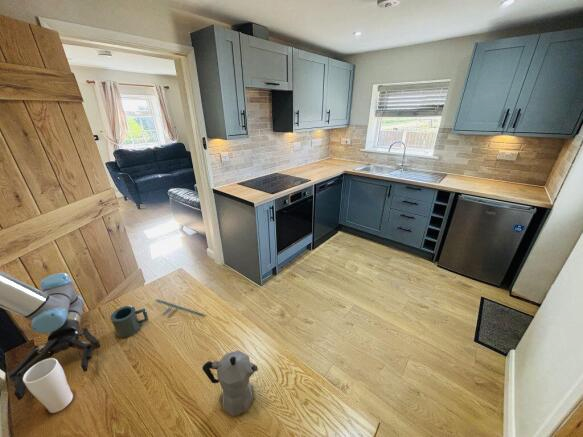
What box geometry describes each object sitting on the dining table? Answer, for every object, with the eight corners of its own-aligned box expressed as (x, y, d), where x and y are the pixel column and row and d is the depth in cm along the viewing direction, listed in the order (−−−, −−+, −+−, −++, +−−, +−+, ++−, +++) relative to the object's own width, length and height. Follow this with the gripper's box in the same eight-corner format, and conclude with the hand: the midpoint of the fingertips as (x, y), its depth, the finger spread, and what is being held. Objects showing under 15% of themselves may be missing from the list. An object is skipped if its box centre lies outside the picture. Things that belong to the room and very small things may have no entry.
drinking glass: (83, 392, 71) (64, 359, 65) (61, 419, 65) (38, 384, 59) (62, 389, 72) (42, 356, 66) (38, 415, 65) (14, 381, 59)
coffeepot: (262, 384, 74) (260, 344, 67) (256, 420, 66) (253, 378, 58) (214, 380, 75) (207, 340, 68) (202, 415, 66) (192, 373, 59)
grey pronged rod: (195, 323, 93) (203, 314, 98) (146, 307, 100) (156, 299, 105) (195, 326, 93) (204, 317, 98) (147, 309, 101) (157, 302, 105)
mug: (117, 342, 87) (110, 324, 83) (117, 328, 92) (110, 310, 89) (150, 329, 92) (145, 312, 89) (148, 316, 98) (143, 299, 94)
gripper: (112, 321, 90) (111, 366, 74) (18, 354, 77) (-7, 418, 61) (106, 306, 87) (104, 350, 71) (8, 338, 74) (-22, 400, 58)
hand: (53, 381), depth 66 cm, fingers open, 13 cm apart
